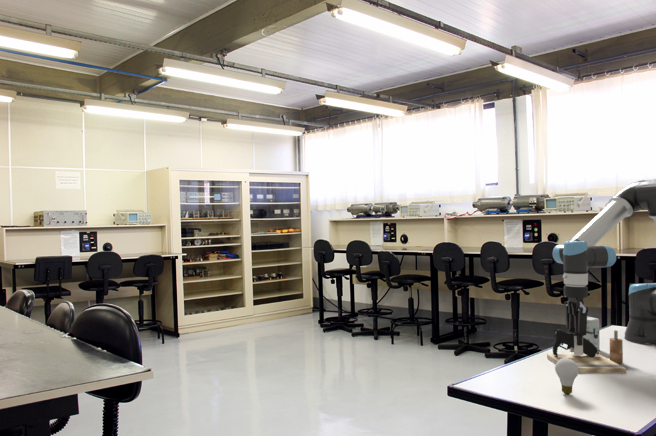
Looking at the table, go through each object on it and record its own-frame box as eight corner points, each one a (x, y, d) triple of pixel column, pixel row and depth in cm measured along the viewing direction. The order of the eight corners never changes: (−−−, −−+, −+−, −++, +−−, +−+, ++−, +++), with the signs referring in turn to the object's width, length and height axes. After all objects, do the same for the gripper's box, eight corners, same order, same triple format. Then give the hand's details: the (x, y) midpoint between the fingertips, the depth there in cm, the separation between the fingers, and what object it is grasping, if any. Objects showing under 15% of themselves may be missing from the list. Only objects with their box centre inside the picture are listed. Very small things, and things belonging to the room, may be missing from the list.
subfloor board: (599, 358, 175) (599, 354, 175) (625, 373, 158) (625, 368, 158) (547, 358, 176) (547, 353, 176) (568, 372, 159) (567, 367, 159)
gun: (590, 373, 171) (604, 347, 171) (547, 351, 172) (560, 325, 172) (586, 371, 174) (600, 345, 174) (544, 349, 175) (557, 324, 175)
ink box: (571, 346, 193) (570, 315, 193) (580, 345, 195) (579, 314, 195) (591, 351, 185) (591, 319, 185) (600, 350, 187) (600, 318, 187)
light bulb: (558, 389, 143) (558, 354, 143) (581, 393, 140) (580, 358, 140) (552, 395, 139) (552, 359, 139) (575, 399, 135) (575, 362, 135)
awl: (619, 361, 172) (618, 329, 172) (625, 364, 168) (624, 331, 168) (607, 361, 172) (607, 329, 172) (613, 364, 168) (613, 331, 168)
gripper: (555, 282, 181) (556, 347, 181) (574, 288, 165) (575, 359, 165) (576, 282, 181) (577, 347, 181) (597, 288, 165) (598, 359, 165)
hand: (576, 353), depth 173 cm, fingers closed on gun, 3 cm apart
